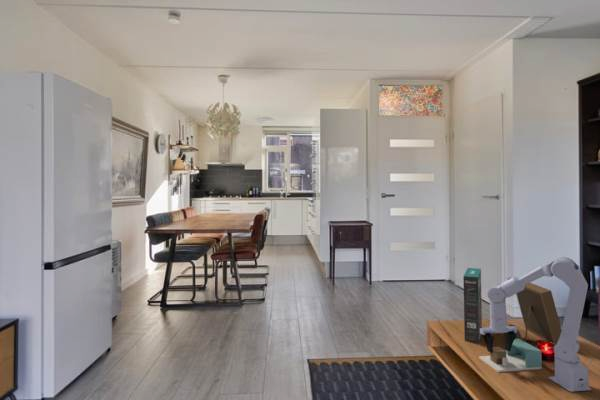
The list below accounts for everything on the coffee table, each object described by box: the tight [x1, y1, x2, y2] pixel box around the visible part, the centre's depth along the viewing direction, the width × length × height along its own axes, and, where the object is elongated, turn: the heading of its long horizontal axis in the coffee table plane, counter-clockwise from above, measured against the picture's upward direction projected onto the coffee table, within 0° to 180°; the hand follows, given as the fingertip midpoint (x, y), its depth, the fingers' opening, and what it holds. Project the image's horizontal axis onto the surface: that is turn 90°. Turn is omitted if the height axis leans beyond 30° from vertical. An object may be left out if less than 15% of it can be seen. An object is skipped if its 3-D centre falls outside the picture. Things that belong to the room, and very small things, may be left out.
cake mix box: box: [463, 267, 483, 344], centre depth 174 cm, size 22×6×30 cm, turn 150°
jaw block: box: [489, 346, 506, 364], centre depth 142 cm, size 4×4×5 cm
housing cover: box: [505, 338, 543, 367], centre depth 143 cm, size 12×6×6 cm, turn 7°
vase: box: [503, 324, 522, 342], centre depth 160 cm, size 7×7×9 cm
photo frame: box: [515, 282, 562, 345], centre depth 168 cm, size 15×22×25 cm
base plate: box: [478, 354, 543, 373], centre depth 143 cm, size 12×18×4 cm, turn 97°
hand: (498, 351), depth 142 cm, fingers open, 7 cm apart
